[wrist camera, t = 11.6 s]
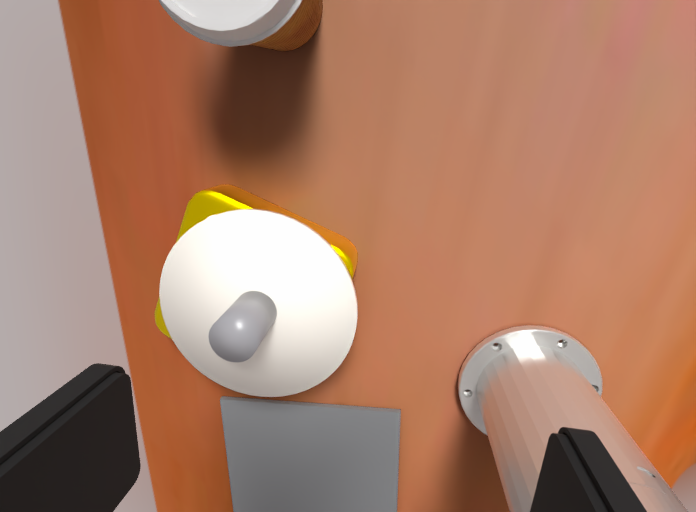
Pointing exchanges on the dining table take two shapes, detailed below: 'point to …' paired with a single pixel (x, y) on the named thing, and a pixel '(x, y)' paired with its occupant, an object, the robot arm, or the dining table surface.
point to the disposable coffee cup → (248, 21)
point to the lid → (259, 302)
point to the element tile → (236, 198)
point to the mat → (310, 456)
